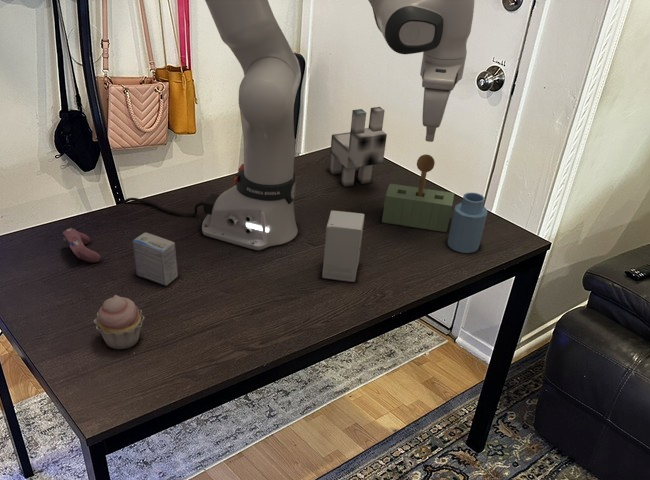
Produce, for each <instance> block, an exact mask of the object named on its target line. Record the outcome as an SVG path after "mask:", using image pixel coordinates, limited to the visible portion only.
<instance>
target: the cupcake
mask: <svg viewBox="0 0 650 480" xmlns="http://www.w3.org/2000/svg"><path fill="white" fill-rule="evenodd" d="M142 313H143V310H142V309H139V308H138V306H137V305H136V304H135V302H134V301H133V300H131V299H130V298H128V297H124V296H120V295H118V294H114V296H113V297H109V298H108V299H105V301H103V304H102V305H101V306H100V308H99V310H98V312H97V313H96V318H94V320H93V323H94V325H95V328H96V330H97V332H99V333H100V334H101V336H102V339H103V341H104V343H105V344H106V345H107V346H108V347H110V348H111V349H115V350H126V349H130V348H131V347H134V346H135V345H136V344H137V343H138V341H139V340H140V333H141V329H142V327H143V323H144V320H145V315H142Z"/></svg>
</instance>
